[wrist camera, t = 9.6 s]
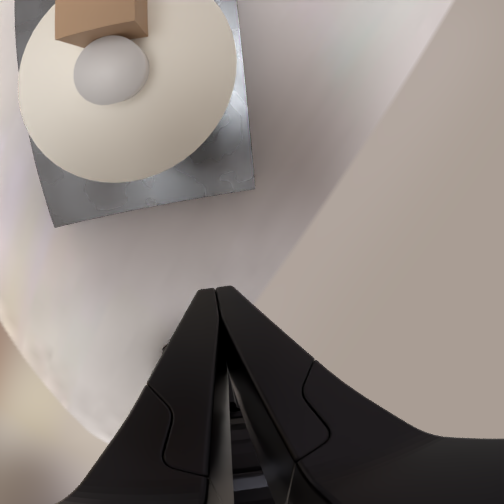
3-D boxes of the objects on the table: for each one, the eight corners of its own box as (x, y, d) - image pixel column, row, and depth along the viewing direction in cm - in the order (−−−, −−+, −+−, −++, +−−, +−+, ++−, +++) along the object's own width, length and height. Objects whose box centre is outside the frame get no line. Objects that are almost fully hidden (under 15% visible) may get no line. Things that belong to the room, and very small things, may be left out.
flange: (229, -62, 10) (247, -108, 6) (237, 163, 17) (257, 195, 12) (28, -23, 9) (-18, -47, 4) (43, 191, 15) (1, 231, 11)
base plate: (250, 181, 19) (255, 189, 18) (62, 217, 18) (54, 227, 16) (225, -56, 12) (229, -66, 10) (25, -6, 10) (14, -11, 9)
